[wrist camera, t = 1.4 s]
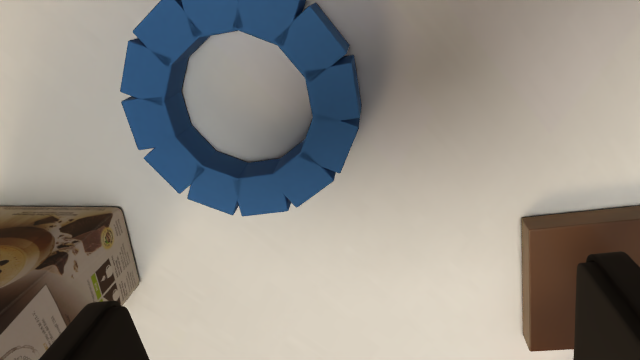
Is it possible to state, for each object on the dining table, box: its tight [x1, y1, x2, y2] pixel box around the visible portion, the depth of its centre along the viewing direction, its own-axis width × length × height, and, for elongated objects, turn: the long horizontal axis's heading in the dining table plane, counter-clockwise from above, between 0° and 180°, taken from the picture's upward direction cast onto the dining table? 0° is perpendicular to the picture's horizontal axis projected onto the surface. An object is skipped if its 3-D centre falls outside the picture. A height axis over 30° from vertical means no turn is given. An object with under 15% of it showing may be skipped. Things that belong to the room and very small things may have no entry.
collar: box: [120, 0, 361, 216], centre depth 25 cm, size 12×12×2 cm
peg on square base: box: [522, 206, 640, 351], centre depth 24 cm, size 9×9×10 cm
